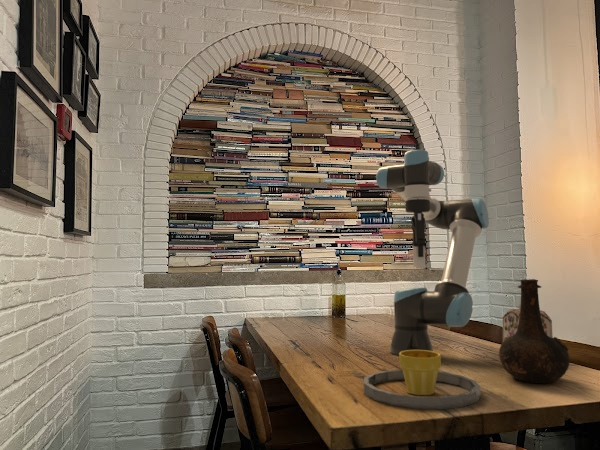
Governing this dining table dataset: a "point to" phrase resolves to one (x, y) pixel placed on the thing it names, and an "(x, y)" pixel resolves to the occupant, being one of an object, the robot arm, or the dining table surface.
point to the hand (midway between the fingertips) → (419, 267)
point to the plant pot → (420, 370)
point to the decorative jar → (513, 321)
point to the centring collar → (422, 401)
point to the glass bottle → (533, 344)
